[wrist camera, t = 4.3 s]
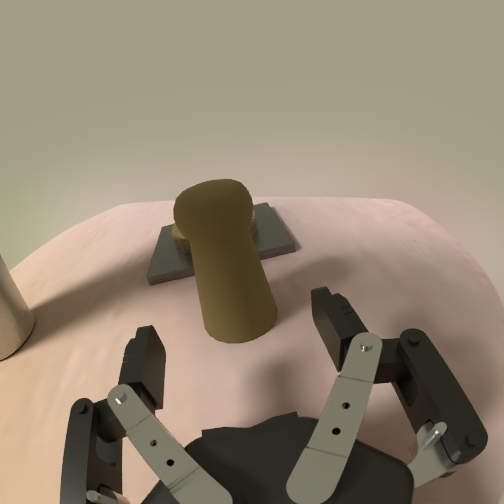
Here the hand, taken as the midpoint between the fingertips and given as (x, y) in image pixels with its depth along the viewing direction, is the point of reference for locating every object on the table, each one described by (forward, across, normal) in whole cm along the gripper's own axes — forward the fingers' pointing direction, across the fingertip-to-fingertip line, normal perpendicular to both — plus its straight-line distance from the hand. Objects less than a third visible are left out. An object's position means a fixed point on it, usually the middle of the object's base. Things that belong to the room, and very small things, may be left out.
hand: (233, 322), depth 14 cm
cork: (+7, 0, +6) cm, 10 cm away
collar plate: (+22, +1, +6) cm, 23 cm away
